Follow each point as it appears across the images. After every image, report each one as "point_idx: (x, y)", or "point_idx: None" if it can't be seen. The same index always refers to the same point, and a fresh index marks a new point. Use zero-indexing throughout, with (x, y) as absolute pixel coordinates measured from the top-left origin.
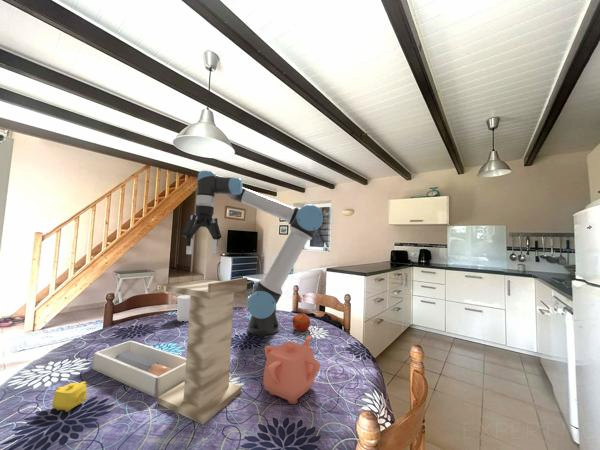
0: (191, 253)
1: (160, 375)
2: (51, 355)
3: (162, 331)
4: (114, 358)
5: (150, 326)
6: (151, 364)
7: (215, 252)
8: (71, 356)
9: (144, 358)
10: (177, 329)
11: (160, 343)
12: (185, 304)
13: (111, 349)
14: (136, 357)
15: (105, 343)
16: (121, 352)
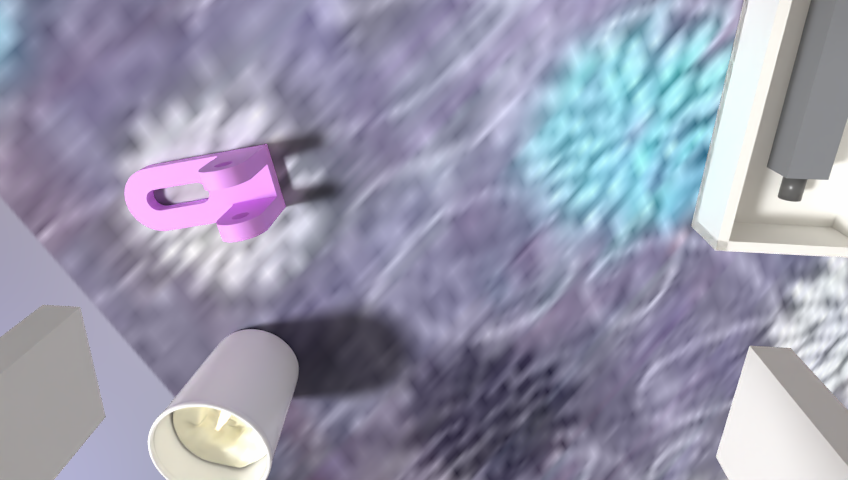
0: (777, 359)
1: None
2: None
3: (440, 322)
4: (766, 225)
5: (421, 415)
6: None
7: (55, 319)
8: None
9: (832, 38)
10: (386, 285)
11: (553, 212)
12: (262, 399)
13: (806, 241)
14: (831, 82)
15: (639, 398)
16: (746, 229)
